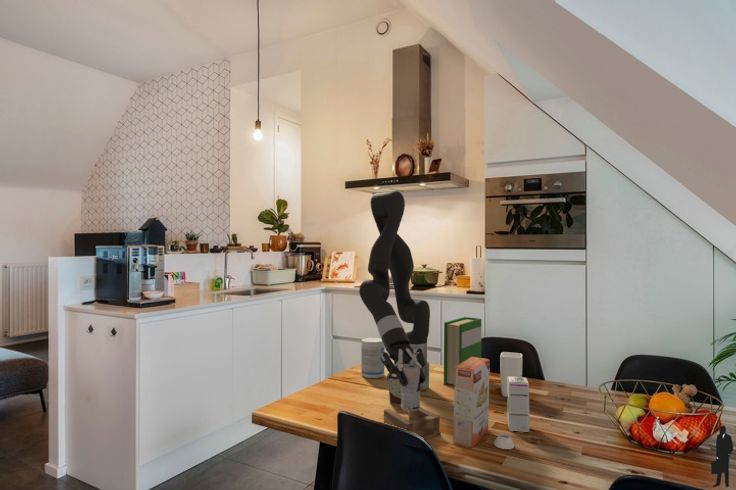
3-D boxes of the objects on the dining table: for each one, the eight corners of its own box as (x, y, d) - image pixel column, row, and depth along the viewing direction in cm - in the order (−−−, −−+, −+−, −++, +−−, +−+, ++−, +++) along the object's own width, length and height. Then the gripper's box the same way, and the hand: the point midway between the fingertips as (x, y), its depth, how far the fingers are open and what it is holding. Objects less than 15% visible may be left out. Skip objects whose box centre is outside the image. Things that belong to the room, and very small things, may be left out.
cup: (499, 398, 157) (499, 356, 157) (501, 391, 163) (501, 351, 163) (521, 401, 154) (521, 358, 154) (522, 394, 161) (522, 353, 161)
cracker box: (474, 449, 117) (474, 369, 117) (452, 443, 120) (453, 366, 120) (490, 430, 129) (490, 358, 129) (469, 426, 132) (470, 355, 132)
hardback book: (461, 388, 167) (461, 324, 167) (443, 384, 172) (444, 322, 172) (480, 377, 181) (481, 318, 181) (464, 374, 186) (464, 316, 186)
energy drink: (421, 406, 129) (422, 365, 129) (417, 413, 124) (418, 370, 124) (403, 404, 131) (404, 363, 131) (398, 410, 126) (399, 368, 126)
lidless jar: (490, 444, 120) (503, 452, 116) (490, 433, 120) (503, 440, 116) (505, 441, 122) (518, 449, 118) (505, 430, 122) (518, 437, 118)
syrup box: (529, 433, 127) (530, 382, 127) (508, 431, 128) (508, 381, 128) (526, 425, 133) (527, 376, 133) (506, 423, 134) (506, 375, 134)
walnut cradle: (415, 420, 136) (416, 403, 136) (440, 435, 125) (440, 416, 125) (382, 428, 130) (382, 410, 130) (405, 444, 119) (405, 424, 119)
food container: (426, 403, 151) (426, 373, 151) (420, 409, 146) (420, 378, 146) (392, 397, 156) (392, 369, 156) (385, 403, 151) (386, 373, 151)
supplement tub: (386, 378, 179) (387, 341, 179) (363, 379, 177) (364, 342, 177) (381, 371, 188) (381, 337, 188) (359, 372, 186) (359, 337, 186)
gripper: (377, 328, 131) (398, 380, 120) (416, 324, 138) (440, 373, 127) (367, 342, 135) (387, 393, 125) (406, 338, 142) (428, 386, 132)
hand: (414, 383), depth 126 cm, fingers closed on energy drink, 5 cm apart
